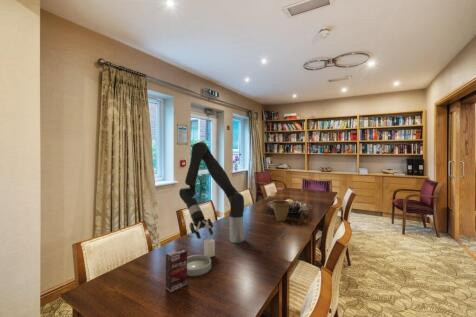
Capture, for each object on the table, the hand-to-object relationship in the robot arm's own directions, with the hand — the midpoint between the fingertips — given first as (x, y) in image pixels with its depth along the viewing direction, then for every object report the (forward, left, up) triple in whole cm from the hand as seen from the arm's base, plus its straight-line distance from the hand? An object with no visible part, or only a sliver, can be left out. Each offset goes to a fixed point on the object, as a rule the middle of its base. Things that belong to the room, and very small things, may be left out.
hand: (206, 236), depth 136 cm
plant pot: (-85, -12, -11) cm, 87 cm away
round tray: (+13, +10, -10) cm, 19 cm away
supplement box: (+28, +19, -11) cm, 35 cm away
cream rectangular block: (0, +3, -10) cm, 11 cm away
